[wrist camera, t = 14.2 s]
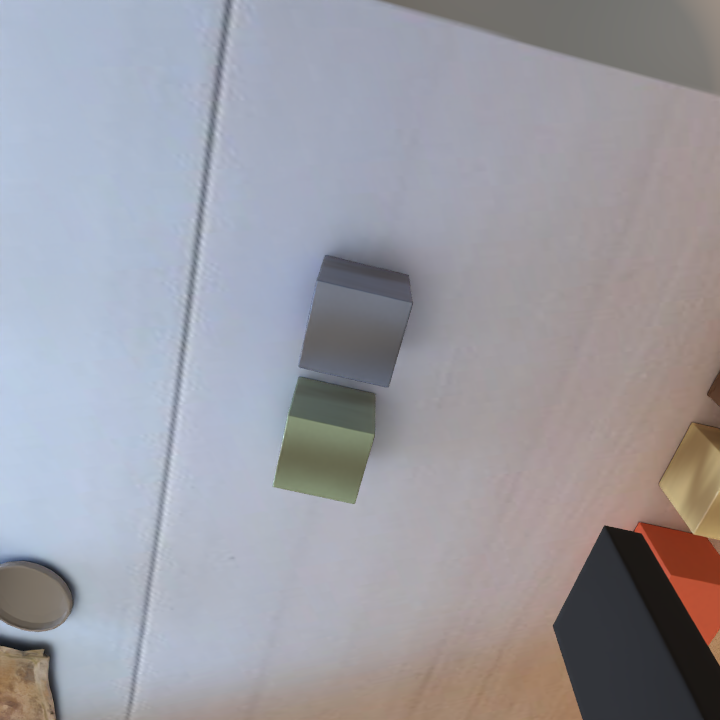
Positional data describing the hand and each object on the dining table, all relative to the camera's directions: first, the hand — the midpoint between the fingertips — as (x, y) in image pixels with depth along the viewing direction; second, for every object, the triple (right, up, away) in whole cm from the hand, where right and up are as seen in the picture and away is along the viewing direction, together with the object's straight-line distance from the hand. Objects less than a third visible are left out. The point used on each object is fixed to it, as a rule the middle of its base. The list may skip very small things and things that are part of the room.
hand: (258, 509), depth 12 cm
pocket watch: (-24, -14, +34) cm, 44 cm away
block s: (+23, -11, +31) cm, 41 cm away
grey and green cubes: (+1, +3, +26) cm, 26 cm away
